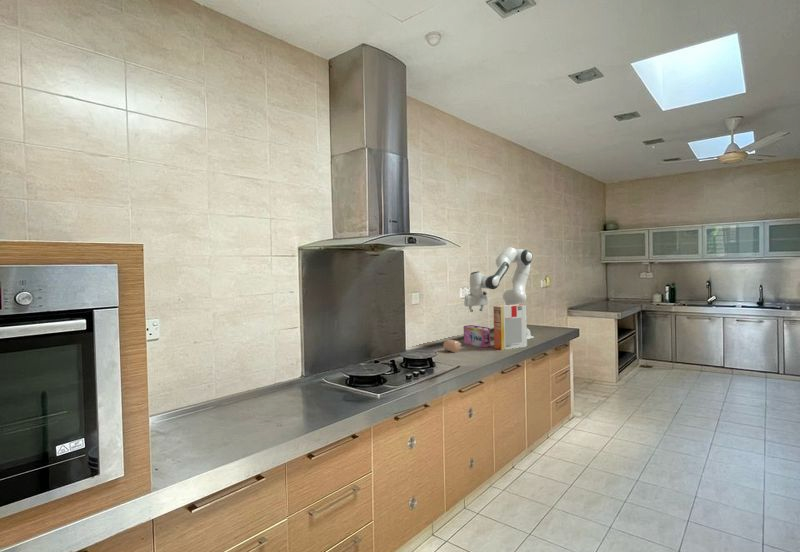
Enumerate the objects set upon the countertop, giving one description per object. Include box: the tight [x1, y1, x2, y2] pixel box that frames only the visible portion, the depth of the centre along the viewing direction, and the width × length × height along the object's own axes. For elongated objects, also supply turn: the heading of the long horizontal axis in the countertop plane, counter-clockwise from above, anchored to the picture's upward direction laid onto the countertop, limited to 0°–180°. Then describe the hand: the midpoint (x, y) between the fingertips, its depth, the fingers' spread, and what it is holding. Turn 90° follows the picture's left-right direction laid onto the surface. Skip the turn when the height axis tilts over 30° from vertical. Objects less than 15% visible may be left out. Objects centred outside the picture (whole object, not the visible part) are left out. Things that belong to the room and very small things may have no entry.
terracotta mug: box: [442, 339, 462, 353], centre depth 300 cm, size 10×8×9 cm
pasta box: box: [493, 304, 528, 351], centre depth 307 cm, size 23×8×30 cm, turn 116°
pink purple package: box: [463, 324, 491, 348], centre depth 322 cm, size 24×8×14 cm, turn 28°
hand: (476, 311), depth 322 cm, fingers open, 8 cm apart
